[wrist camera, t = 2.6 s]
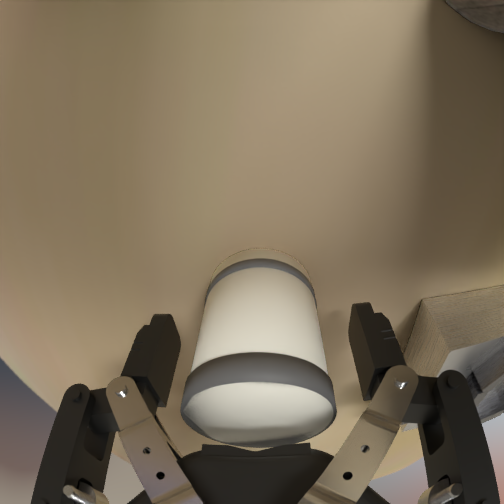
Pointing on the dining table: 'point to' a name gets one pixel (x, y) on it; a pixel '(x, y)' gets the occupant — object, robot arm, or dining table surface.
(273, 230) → the dining table surface
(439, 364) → the octagonal ring slab
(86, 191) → the dining table surface
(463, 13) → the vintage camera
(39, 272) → the dining table surface
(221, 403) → the cream grey cylinder
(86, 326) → the dining table surface
